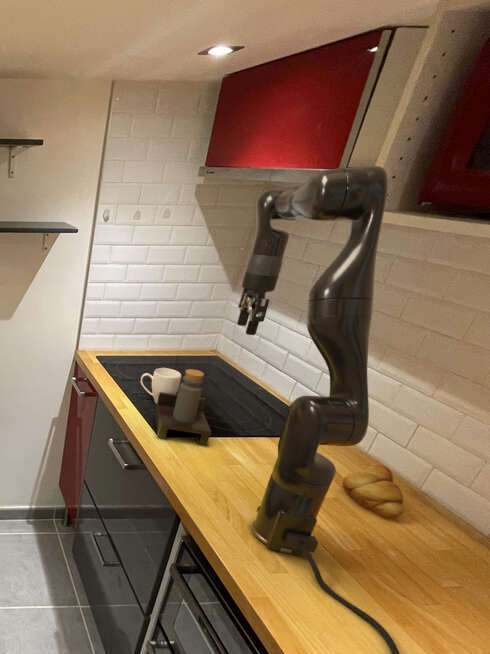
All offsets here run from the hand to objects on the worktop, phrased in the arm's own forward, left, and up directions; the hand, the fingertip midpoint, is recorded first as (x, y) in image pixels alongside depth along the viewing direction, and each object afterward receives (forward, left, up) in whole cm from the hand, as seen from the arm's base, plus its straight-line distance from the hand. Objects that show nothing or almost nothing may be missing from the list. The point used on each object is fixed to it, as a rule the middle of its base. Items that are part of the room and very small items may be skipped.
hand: (245, 329), depth 124 cm
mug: (+14, +16, -33) cm, 39 cm away
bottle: (-6, +11, -27) cm, 30 cm away
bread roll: (-26, -28, -33) cm, 50 cm away
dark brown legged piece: (-5, +11, -32) cm, 35 cm away
